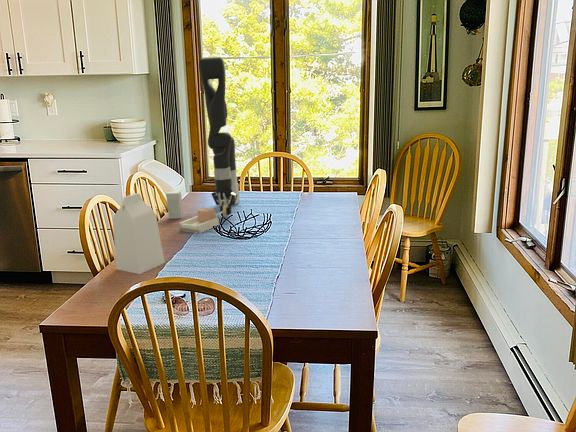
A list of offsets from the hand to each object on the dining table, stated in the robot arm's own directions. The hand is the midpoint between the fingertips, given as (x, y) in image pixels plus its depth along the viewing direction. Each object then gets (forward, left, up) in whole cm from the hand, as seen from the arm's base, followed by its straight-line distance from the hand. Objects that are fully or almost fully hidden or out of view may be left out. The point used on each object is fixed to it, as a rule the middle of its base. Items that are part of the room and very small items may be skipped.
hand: (225, 214), depth 257 cm
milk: (+63, +11, -2) cm, 64 cm away
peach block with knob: (+7, 0, 0) cm, 7 cm away
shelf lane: (+18, 0, -1) cm, 18 cm away
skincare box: (+9, -22, -1) cm, 24 cm away
